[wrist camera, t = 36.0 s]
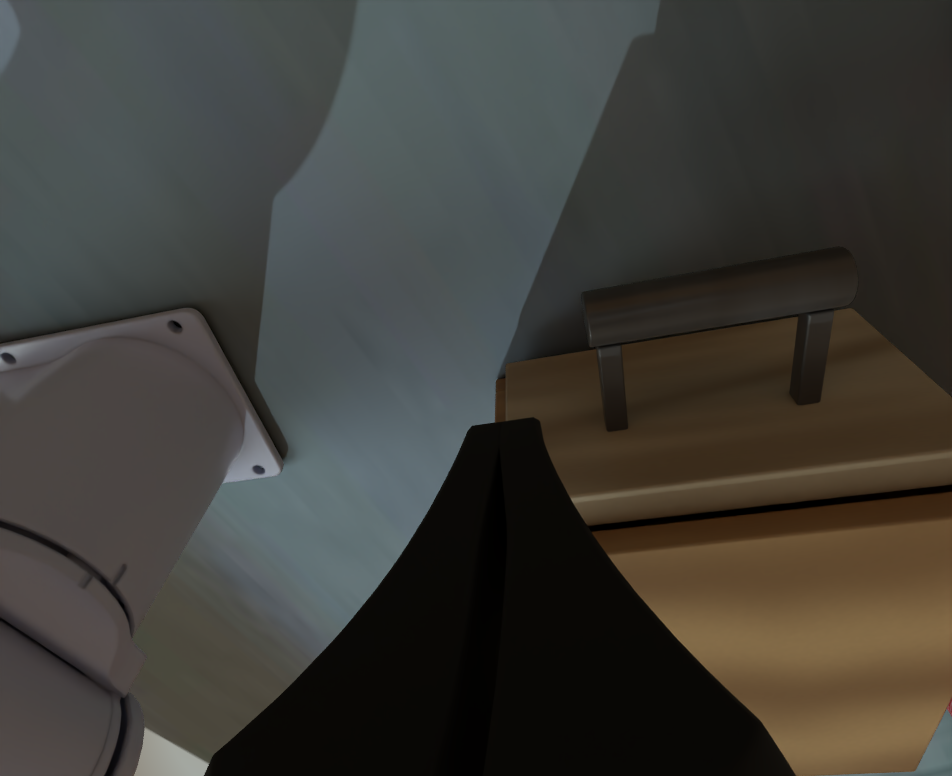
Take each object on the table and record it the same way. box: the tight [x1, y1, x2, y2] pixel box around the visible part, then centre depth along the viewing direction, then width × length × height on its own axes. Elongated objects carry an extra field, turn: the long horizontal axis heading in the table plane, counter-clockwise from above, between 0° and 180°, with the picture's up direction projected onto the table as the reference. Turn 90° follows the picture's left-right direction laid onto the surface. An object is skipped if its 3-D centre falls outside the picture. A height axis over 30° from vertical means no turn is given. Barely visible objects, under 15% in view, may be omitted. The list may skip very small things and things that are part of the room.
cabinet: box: [495, 378, 952, 776], centre depth 21 cm, size 14×13×9 cm
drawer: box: [506, 246, 952, 532], centre depth 19 cm, size 17×11×7 cm
